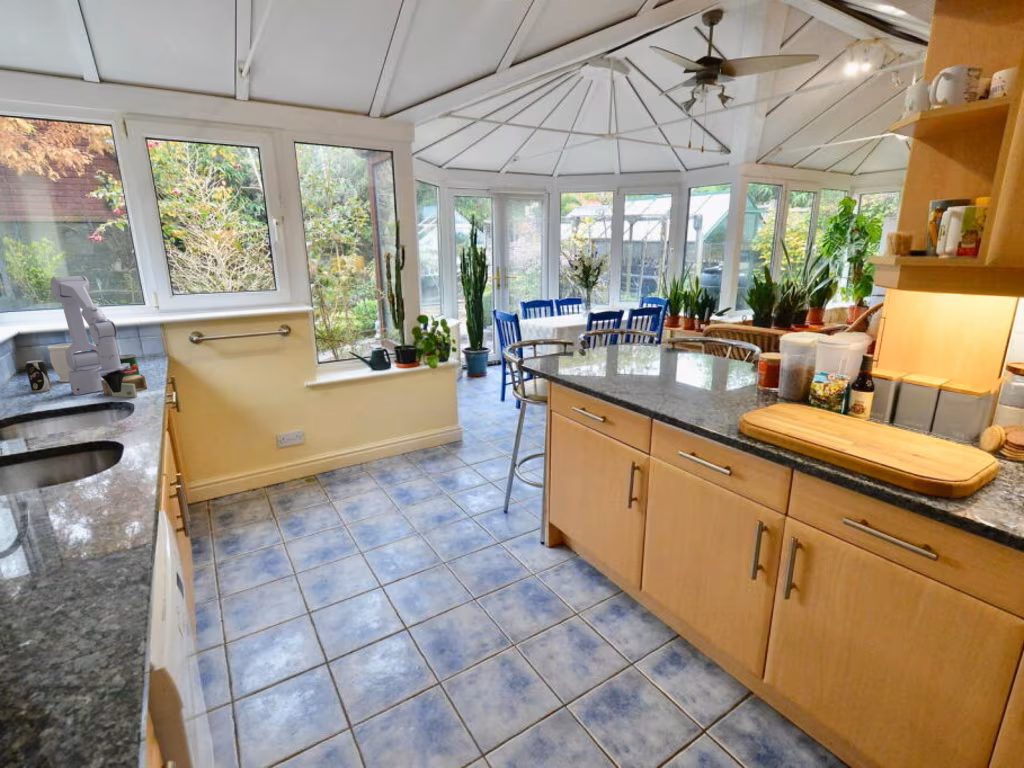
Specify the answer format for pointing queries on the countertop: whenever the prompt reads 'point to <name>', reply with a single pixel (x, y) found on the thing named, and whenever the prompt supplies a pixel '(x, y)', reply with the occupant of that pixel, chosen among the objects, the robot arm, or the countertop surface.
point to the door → (125, 391)
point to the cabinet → (135, 379)
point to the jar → (60, 360)
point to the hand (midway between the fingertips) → (116, 392)
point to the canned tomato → (133, 364)
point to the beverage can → (38, 376)
